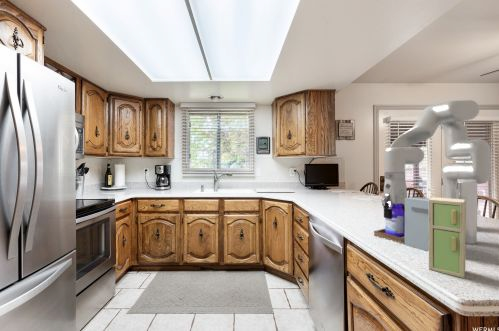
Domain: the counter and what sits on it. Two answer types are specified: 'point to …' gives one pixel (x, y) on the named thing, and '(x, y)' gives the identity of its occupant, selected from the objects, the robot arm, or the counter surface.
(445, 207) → the toy refrigerator
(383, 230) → the tray
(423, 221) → the unit
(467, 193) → the grey post
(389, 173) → the robot arm
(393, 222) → the bottle
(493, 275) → the counter surface
